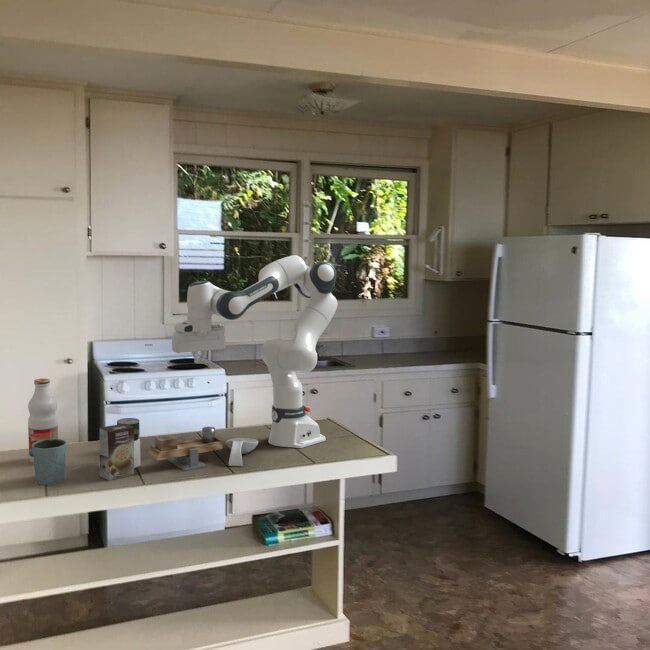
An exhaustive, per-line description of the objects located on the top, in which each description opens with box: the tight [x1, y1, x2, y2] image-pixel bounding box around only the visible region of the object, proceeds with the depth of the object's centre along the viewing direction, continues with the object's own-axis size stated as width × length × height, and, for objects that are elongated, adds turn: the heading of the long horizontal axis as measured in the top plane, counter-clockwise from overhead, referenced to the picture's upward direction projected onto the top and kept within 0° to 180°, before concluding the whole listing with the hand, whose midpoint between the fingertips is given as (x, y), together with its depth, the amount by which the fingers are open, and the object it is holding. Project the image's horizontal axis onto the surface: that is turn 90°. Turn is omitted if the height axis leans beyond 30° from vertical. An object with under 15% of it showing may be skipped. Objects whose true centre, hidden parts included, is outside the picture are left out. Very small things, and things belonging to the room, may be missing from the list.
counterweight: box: [201, 426, 216, 444], centre depth 247 cm, size 4×4×5 cm
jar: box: [134, 429, 141, 469], centre depth 238 cm, size 9×8×12 cm
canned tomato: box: [116, 417, 141, 440], centre depth 255 cm, size 8×8×11 cm
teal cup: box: [32, 438, 67, 486], centre depth 223 cm, size 10×10×12 cm
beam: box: [148, 435, 223, 461], centre depth 242 cm, size 24×9×3 cm, turn 127°
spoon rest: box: [225, 437, 259, 467], centre depth 252 cm, size 24×12×7 cm, turn 0°
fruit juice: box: [27, 378, 59, 464], centre depth 241 cm, size 9×9×28 cm
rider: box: [154, 434, 179, 452], centre depth 238 cm, size 6×5×4 cm
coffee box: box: [99, 424, 135, 481], centre depth 229 cm, size 9×6×16 cm
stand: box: [166, 439, 207, 472], centre depth 243 cm, size 8×14×6 cm, turn 37°
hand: (199, 363), depth 260 cm, fingers closed
